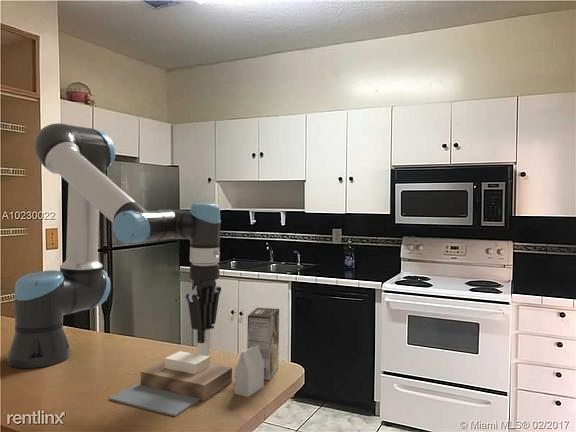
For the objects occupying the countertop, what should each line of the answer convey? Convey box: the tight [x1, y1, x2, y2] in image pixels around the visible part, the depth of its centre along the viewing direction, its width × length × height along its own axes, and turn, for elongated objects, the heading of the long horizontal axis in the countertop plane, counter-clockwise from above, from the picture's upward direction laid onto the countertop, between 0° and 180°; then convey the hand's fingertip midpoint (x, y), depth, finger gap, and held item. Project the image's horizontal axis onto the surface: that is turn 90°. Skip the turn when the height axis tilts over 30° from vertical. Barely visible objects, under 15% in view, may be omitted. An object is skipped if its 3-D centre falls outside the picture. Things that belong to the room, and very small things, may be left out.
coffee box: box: [246, 307, 280, 381], centre depth 122 cm, size 9×6×16 cm
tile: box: [164, 350, 211, 374], centre depth 116 cm, size 9×6×2 cm, turn 66°
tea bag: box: [234, 345, 265, 398], centre depth 111 cm, size 4×7×10 cm, turn 151°
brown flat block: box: [140, 359, 233, 402], centre depth 114 cm, size 18×12×4 cm, turn 66°
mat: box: [108, 383, 201, 417], centre depth 105 cm, size 18×9×1 cm, turn 66°
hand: (203, 354), depth 122 cm, fingers closed
